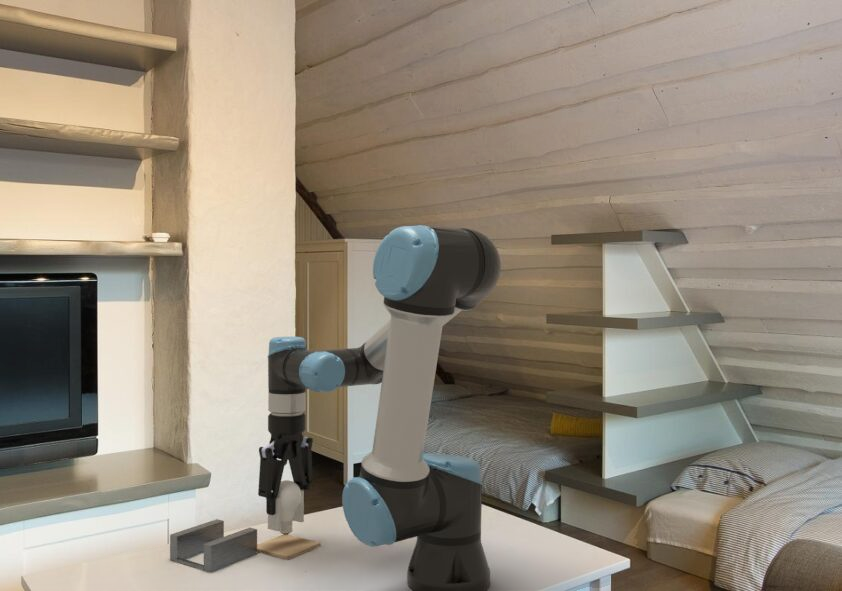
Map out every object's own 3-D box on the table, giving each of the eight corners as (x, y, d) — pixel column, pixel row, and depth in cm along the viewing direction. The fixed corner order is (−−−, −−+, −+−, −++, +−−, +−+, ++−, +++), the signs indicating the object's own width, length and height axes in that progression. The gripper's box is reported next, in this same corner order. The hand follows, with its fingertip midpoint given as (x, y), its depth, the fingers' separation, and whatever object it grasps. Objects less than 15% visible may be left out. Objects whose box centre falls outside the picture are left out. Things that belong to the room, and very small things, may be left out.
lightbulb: (295, 540, 159) (295, 485, 159) (265, 538, 160) (265, 483, 160) (305, 530, 165) (306, 477, 165) (277, 528, 167) (277, 476, 166)
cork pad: (320, 545, 164) (320, 542, 164) (287, 559, 156) (287, 556, 156) (284, 536, 170) (284, 533, 170) (250, 549, 162) (250, 547, 161)
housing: (257, 554, 159) (257, 529, 159) (210, 572, 149) (211, 546, 149) (216, 543, 165) (217, 519, 165) (170, 560, 155) (170, 534, 155)
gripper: (304, 404, 172) (303, 510, 173) (238, 417, 156) (238, 534, 157) (331, 408, 168) (330, 516, 169) (266, 421, 152) (266, 541, 153)
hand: (286, 524), depth 163 cm, fingers closed on lightbulb, 6 cm apart
